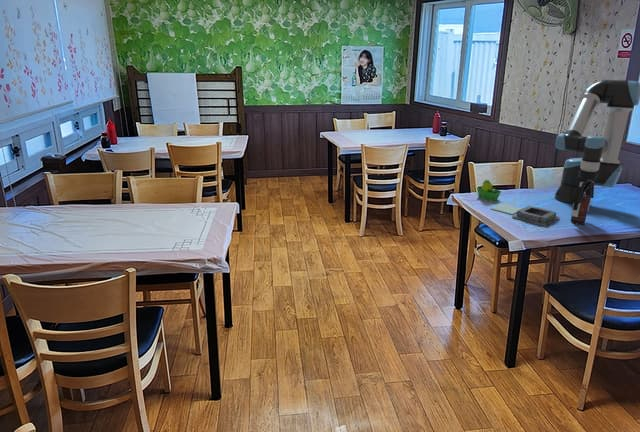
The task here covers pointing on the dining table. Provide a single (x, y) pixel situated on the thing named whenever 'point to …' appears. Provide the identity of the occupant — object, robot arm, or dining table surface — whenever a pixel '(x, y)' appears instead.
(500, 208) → the mat
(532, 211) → the socket block
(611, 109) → the robot arm
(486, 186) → the fruit basket
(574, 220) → the can
